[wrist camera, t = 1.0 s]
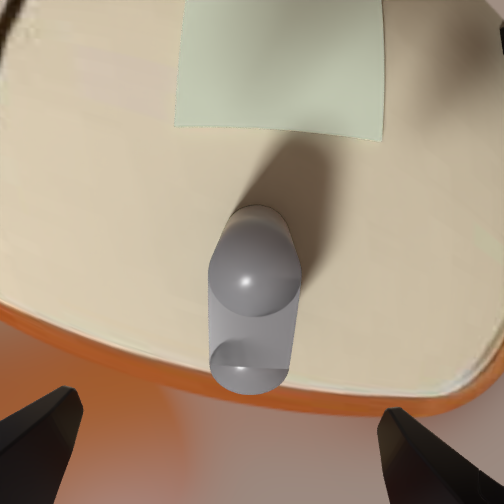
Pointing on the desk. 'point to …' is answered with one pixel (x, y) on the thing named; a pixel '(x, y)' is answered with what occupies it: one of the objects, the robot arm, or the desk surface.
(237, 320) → the rounded connector
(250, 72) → the sage pad
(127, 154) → the desk surface
